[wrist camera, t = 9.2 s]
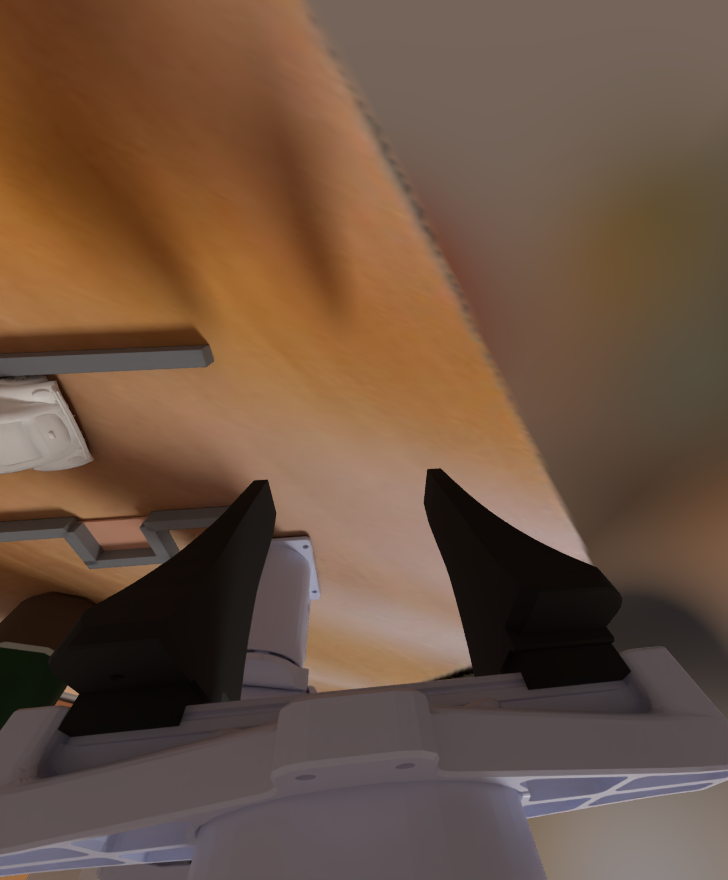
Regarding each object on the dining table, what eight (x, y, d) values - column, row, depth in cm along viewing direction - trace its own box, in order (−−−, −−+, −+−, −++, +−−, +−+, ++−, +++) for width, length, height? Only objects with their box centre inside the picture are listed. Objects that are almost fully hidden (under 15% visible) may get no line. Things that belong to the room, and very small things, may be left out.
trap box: (268, 544, 27) (260, 574, 24) (-54, 568, 25) (-99, 602, 23) (186, 267, 15) (155, 267, 13) (-403, 285, 14) (-569, 289, 11)
